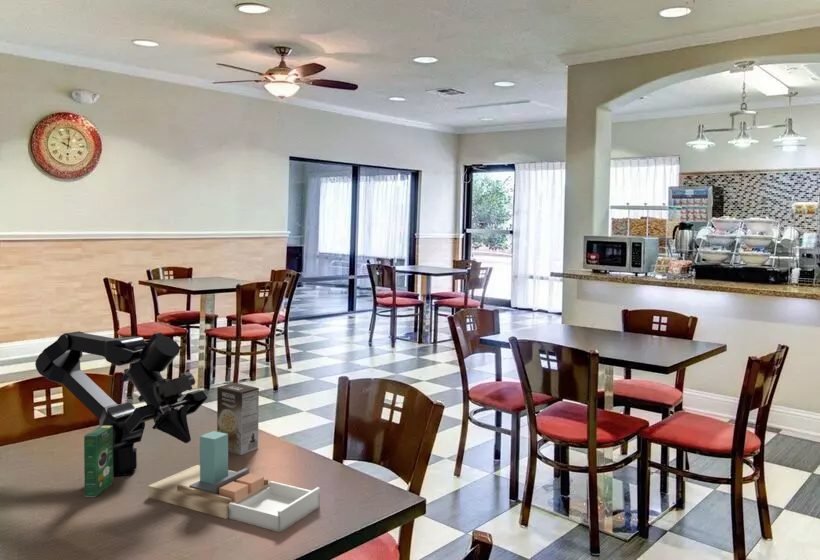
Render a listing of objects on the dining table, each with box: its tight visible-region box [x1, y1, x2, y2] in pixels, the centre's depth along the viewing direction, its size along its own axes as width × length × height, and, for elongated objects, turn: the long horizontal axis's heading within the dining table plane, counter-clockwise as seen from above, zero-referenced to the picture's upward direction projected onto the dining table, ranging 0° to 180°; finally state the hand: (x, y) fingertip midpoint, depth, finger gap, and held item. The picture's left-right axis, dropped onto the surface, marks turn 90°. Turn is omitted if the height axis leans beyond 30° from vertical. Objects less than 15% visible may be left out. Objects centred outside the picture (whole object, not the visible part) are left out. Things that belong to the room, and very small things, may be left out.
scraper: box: [189, 430, 250, 495], centre depth 138 cm, size 7×10×10 cm
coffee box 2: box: [216, 381, 260, 456], centre depth 168 cm, size 9×6×16 cm
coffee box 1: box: [83, 425, 114, 498], centre depth 141 cm, size 8×3×13 cm, turn 0°
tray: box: [228, 480, 321, 533], centre depth 132 cm, size 12×13×4 cm
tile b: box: [219, 481, 248, 502], centre depth 133 cm, size 4×4×2 cm
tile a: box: [236, 473, 265, 493], centre depth 138 cm, size 4×4×2 cm
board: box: [147, 464, 270, 520], centre depth 140 cm, size 21×14×4 cm, turn 64°
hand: (188, 441), depth 142 cm, fingers closed
